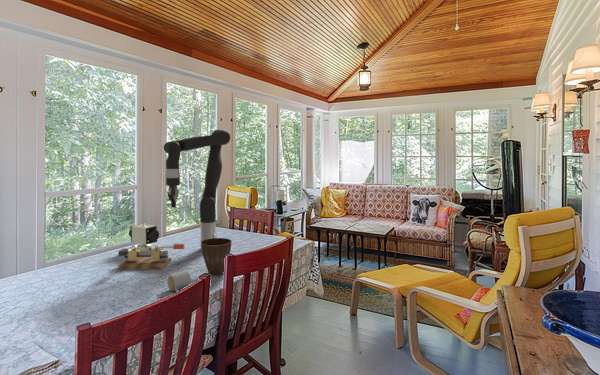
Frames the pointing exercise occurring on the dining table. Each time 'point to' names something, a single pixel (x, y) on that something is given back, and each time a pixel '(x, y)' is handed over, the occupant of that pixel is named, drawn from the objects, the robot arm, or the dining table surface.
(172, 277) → the ceramic mug
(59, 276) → the dining table surface
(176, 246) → the red lever
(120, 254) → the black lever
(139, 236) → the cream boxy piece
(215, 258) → the plant pot
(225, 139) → the robot arm
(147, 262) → the base board
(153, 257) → the pipe manifold
